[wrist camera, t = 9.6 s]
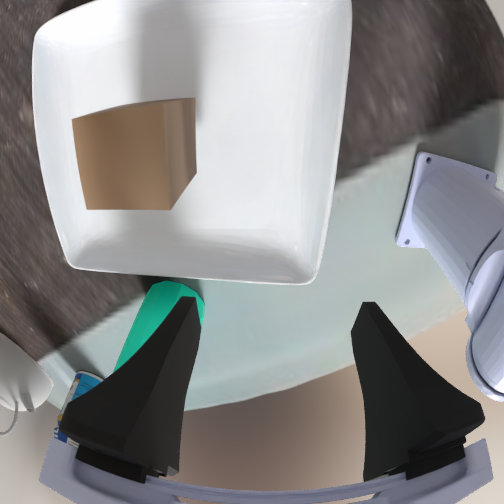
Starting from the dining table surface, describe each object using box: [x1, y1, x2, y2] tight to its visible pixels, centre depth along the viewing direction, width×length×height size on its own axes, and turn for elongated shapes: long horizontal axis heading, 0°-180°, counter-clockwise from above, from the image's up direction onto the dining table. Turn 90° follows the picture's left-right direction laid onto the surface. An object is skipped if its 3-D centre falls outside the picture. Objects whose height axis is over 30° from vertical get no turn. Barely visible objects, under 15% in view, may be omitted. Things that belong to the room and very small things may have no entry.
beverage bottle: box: [54, 371, 103, 449], centre depth 32 cm, size 8×8×20 cm
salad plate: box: [32, 0, 352, 285], centre depth 16 cm, size 21×21×3 cm
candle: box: [113, 281, 204, 399], centre depth 21 cm, size 6×6×12 cm
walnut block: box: [72, 97, 197, 210], centre depth 12 cm, size 4×4×5 cm
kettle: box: [0, 333, 54, 436], centre depth 34 cm, size 25×23×23 cm
